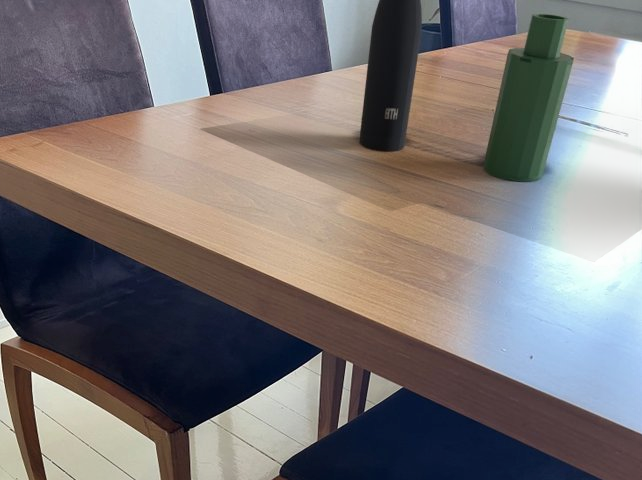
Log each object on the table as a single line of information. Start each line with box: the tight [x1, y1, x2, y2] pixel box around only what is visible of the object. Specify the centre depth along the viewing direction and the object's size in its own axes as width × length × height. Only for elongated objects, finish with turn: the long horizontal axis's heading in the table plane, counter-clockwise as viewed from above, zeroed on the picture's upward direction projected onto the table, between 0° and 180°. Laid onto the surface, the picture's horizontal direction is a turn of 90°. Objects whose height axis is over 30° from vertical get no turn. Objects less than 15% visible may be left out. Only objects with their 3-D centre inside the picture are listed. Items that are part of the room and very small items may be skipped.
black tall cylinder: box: [358, 0, 423, 152], centre depth 93 cm, size 6×6×30 cm
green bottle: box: [482, 13, 575, 183], centre depth 92 cm, size 8×8×18 cm
